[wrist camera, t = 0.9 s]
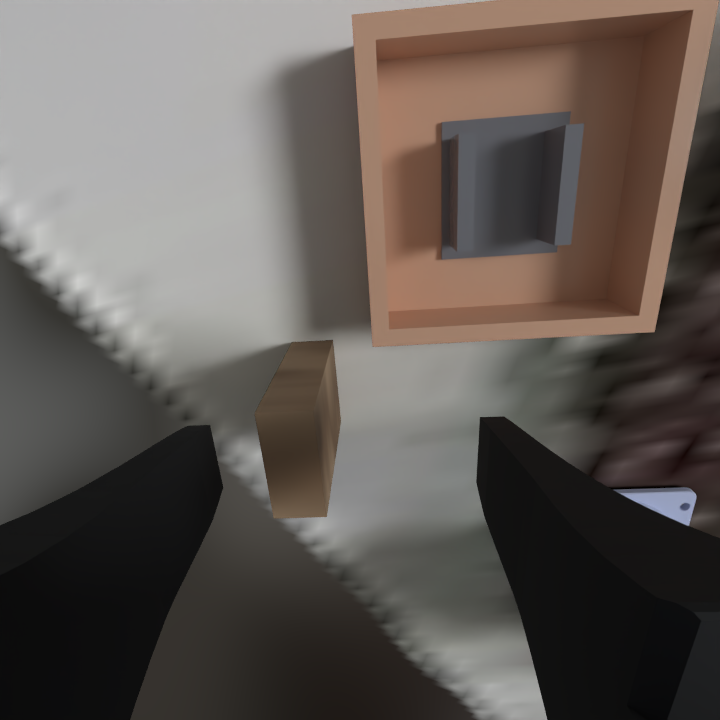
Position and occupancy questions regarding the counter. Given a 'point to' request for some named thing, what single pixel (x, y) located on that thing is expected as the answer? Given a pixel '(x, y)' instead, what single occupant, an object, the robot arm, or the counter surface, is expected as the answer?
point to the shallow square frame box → (524, 163)
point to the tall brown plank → (301, 430)
